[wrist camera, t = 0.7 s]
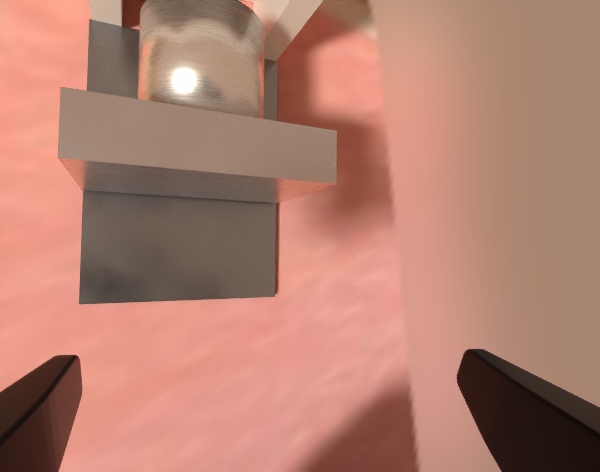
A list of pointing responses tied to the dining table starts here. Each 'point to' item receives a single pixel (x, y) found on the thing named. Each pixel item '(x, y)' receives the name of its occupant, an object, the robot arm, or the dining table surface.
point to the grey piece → (194, 116)
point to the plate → (169, 215)
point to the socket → (267, 6)
